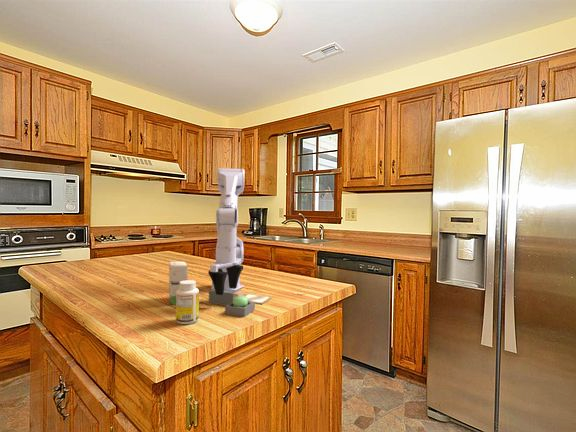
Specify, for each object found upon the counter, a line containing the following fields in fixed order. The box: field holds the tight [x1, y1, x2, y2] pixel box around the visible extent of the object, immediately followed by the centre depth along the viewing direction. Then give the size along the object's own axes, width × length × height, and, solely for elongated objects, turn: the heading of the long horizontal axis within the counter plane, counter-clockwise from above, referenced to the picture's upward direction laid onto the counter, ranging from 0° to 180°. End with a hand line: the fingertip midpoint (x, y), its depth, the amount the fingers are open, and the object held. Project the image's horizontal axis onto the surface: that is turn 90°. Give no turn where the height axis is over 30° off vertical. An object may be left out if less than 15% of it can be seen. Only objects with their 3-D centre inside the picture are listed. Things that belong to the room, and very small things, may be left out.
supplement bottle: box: [175, 279, 200, 325], centre depth 79 cm, size 6×6×10 cm
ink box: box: [168, 261, 189, 306], centre depth 96 cm, size 9×5×12 cm, turn 26°
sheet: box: [245, 293, 272, 305], centre depth 99 cm, size 9×7×1 cm
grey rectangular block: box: [208, 288, 245, 306], centre depth 95 cm, size 10×4×4 cm, turn 69°
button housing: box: [224, 302, 256, 318], centre depth 87 cm, size 6×6×2 cm
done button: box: [233, 295, 248, 308], centre depth 87 cm, size 4×4×3 cm
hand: (226, 291), depth 95 cm, fingers open, 7 cm apart
